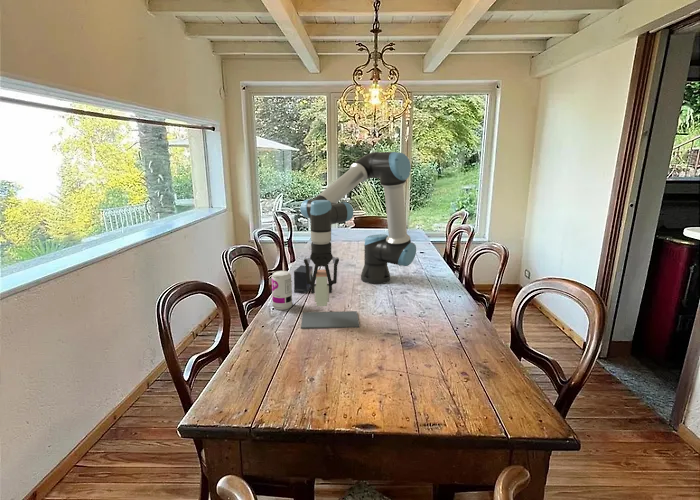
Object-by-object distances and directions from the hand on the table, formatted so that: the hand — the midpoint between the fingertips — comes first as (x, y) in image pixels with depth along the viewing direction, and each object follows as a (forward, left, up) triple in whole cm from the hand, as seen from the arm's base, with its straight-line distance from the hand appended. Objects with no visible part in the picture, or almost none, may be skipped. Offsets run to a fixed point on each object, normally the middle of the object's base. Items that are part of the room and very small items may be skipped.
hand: (321, 300), depth 156 cm
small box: (+9, -36, -9) cm, 38 cm away
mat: (-3, 0, -8) cm, 9 cm away
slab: (0, 0, -1) cm, 1 cm away
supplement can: (+17, -15, -9) cm, 24 cm away
